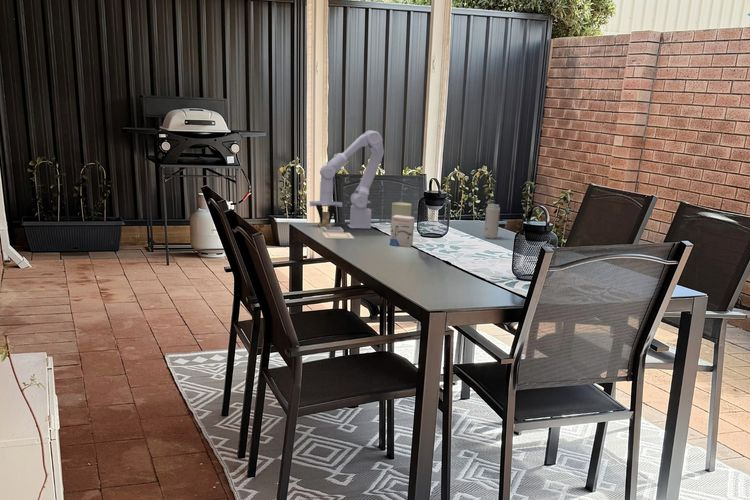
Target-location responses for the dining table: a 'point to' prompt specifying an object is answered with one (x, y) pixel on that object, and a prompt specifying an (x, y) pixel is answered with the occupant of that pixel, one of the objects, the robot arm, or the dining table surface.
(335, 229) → the ink pad
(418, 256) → the dining table surface
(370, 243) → the dining table surface
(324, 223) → the stamp
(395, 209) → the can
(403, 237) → the ink box
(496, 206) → the energy drink can
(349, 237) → the mat
